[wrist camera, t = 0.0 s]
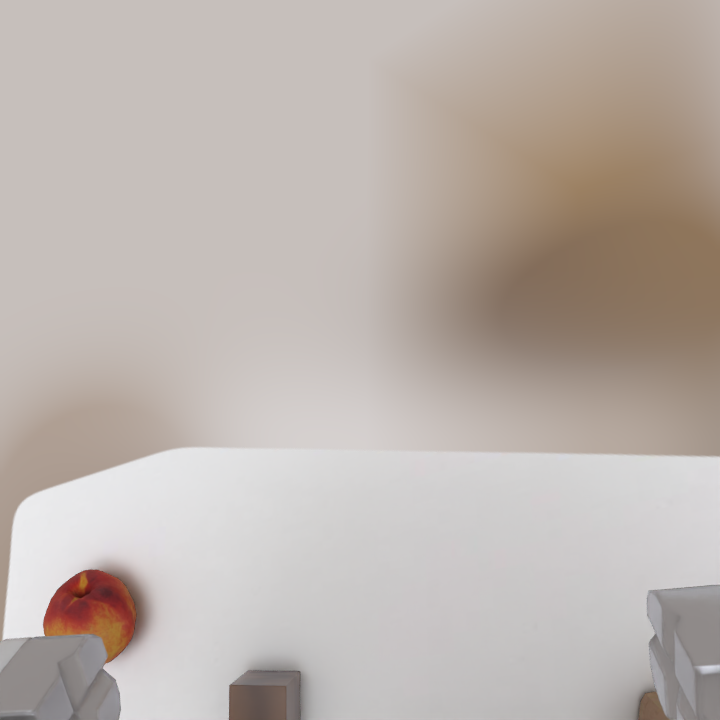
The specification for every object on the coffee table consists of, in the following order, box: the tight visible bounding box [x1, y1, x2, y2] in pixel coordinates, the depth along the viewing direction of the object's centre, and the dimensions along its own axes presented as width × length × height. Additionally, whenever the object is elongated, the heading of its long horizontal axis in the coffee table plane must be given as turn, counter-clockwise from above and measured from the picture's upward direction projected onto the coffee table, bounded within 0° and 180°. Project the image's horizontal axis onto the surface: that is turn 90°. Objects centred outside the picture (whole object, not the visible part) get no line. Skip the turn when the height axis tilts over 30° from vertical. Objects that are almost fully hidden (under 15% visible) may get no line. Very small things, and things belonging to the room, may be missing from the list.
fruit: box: [43, 570, 136, 664], centre depth 62 cm, size 8×8×8 cm
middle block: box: [229, 671, 300, 720], centre depth 60 cm, size 5×5×5 cm
